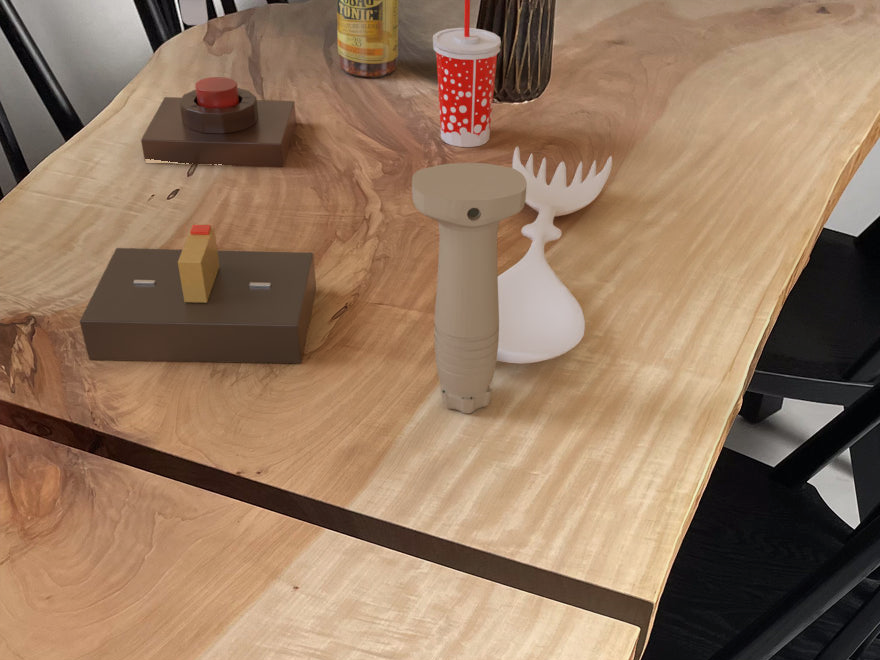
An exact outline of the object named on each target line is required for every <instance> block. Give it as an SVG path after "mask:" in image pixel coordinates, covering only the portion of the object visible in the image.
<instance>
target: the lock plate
mask: <svg viewBox="0 0 880 660" xmlns="http://www.w3.org/2000/svg"><path fill="white" fill-rule="evenodd" d="M182 250H183V249H179V248H177V249H175V248H174V249H173V248H168V249H167V248H133V247H116V248H115V250H114V252H113V254H112V256H111V257H110V260H109V262H108V263H107V265H106V267H105V270H104V272H103V274H102V276H101V278H100V280H99V282H98V283H97V286H96V288H95V289H94V291H93V293H92V296H91V298H90V299H89V301H88V304H87V305H86V307H85V309H84V310H83V313H82V315H81V317H80V319H79V324H80V329H81V332H82V336H83V341H84V345H85V348H86V353H87V357H88V360H90V361H92V360H93V361H94V360H95V361H98V360H99V361H141V362H142V361H149V362H152V361H153V362H194V363H195V362H196V363H197V362H198V363H200V362H201V363H202V362H205V363H250V364H251V363H252V364H253V363H255V364H257V363H258V364H302V360H303V356H304V352H305V351H304V350H305V346H306V341H307V337H308V331H309V326H310V321H311V317H312V311H313V306H314V301H315V297H316V292H317V280H316V268H315V257H314V253H313V252H301V251H300V252H298V251H297V252H295V251H291V252H290V251H259V250H258V251H256V250H218V249H217V252H218V259H219V269H218V272H217V275H216V278H215V281H214V284H213V287H212V290H211V292H210V295H209V298H208V301H207V303H201V302H185V301H184V296H183V290H182V284H181V278H180V272H179V267H178V260H179V258H180V255H181V253H182Z"/></svg>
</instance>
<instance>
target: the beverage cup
mask: <svg viewBox="0 0 880 660" xmlns="http://www.w3.org/2000/svg"><path fill="white" fill-rule="evenodd" d="M470 19H471V0H464V22H463V23H464V25H463V26H464V27H454V28H453V27H452V28H446V29H443V30H439V31H437V32H436V33H434V34H433V35H432V47H433V48H432V49H433V51H434V52H435V53H436V54H435V55H436V73H437V88H438V105H439V124H440V139H441V140H442V141H443V142H444V143H446V144H447V145H450V146H454V147H460V148H473V147H480V146H483V145H485V144H487V143H488V142H489V140H490V136H491V135H490V134H491V124H492V115H493V114H492V113H493V102H494V93H495V83H496V82H495V81H496V72H497V71H496V69H497V60H498V54H499V53H500V52H501V46H502V41H501V36H499V35H497V34H496V33H494V32H492V31H489V30H487V29H480V28H473V27H470V26H471V25H470V24H471V20H470Z"/></svg>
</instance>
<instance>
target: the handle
mask: <svg viewBox="0 0 880 660" xmlns="http://www.w3.org/2000/svg"><path fill="white" fill-rule="evenodd" d="M526 186H527V183H526V179H525V177H524V176H523V175H522V174H521V173H520V172H519V171H517V170H515V169H513V168H512V167H510V166H503V165H497V164H491V163H484V162H453V163H444V164H443V163H442V164H438V165H434V166H429V167H425V168H421V169H418V170H417V171H415V172H414V173H413V175H412V177H411V198H412V203H413V206H414V207H415V209H416V210H417V211H418V212H420V214H422V215H423V216H425V217H427V218H428V219H429V218H430V219H432V220H434V221H436V222H438V233H439V240H438V261H437V279H436V293H435V305H434V321H433V322H434V325H433V326H434V327H433V328H434V333H433V334H434V335H433V337H434V339H433V340H434V341H433V342H434V355H435V363H436V370H437V375H438V380H439V388H440V395H441V400H442V404H443V406H444V407H446V409H451V410H457V411H459V412H461V413H462V414H473V413H474V411H475V410H478V409H480V408H485V407H487V406H488V405H489V404H490V402H491V398H492V393H493V392H492V391H493V389H492V388H491V387H490V385H491V384H492V382H493V379H494V374H495V370H496V364H497V360H496V359H497V351H498V341H499V304H498V276H499V275H498V231H499V227H500V226H499V225H500V222H502V221H504V220H505V219H509V218H510V217H513V216H514V215H516V214H519V213H520V212H521V211H522V210H523V209H524V208H525V204H526V203H525V200H526Z"/></svg>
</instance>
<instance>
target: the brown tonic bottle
mask: <svg viewBox="0 0 880 660" xmlns="http://www.w3.org/2000/svg"><path fill="white" fill-rule="evenodd" d="M336 29H337V30H336V31H337V33H336V35H337V36H336V39H337V53H338V56H339V57H338V58H339V65H340V69H341V70H342V71H344V72H345V73H346V74H349V75H351V76H354V77H359V78H361V77H364V78H370V79H371V78H372V79H375V78H376V79H379V78H382V77H383V76H384V77H385V76H387V75H390V74H392V73H393V72H394V71H395V70H396V67H397V58H398V56H399V0H336Z"/></svg>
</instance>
